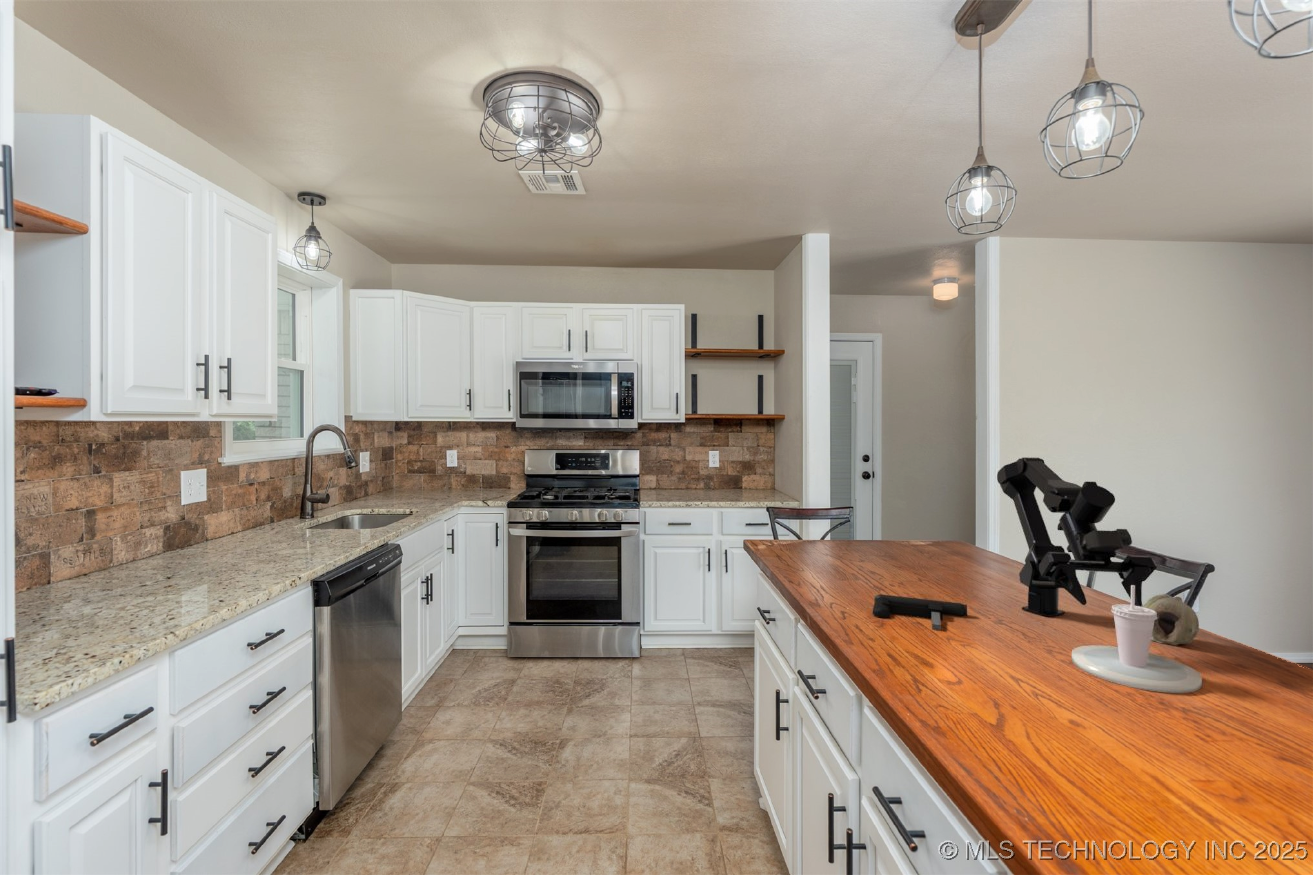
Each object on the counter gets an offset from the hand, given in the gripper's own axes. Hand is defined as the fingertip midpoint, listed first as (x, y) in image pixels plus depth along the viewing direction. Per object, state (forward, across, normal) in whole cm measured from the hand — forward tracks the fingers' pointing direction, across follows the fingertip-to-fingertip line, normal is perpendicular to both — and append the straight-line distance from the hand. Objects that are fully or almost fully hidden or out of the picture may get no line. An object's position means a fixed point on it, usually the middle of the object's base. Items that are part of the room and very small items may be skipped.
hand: (1111, 605), depth 112 cm
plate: (+12, 0, +2) cm, 12 cm away
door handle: (-5, -30, +20) cm, 36 cm away
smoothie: (+11, 0, +1) cm, 11 cm away
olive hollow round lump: (-1, +16, +15) cm, 22 cm away
